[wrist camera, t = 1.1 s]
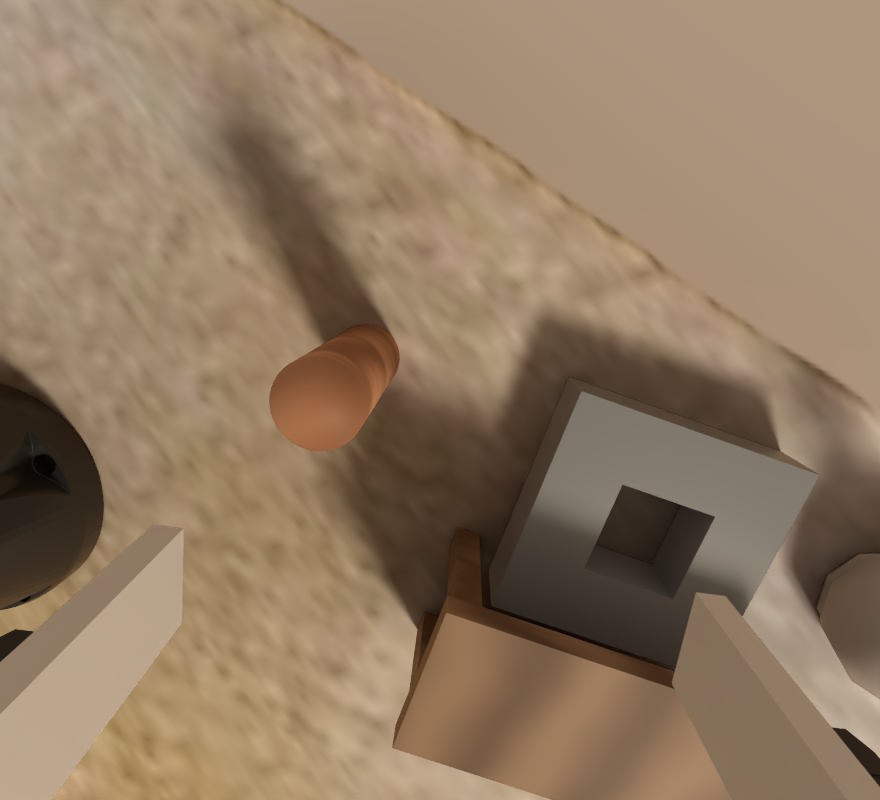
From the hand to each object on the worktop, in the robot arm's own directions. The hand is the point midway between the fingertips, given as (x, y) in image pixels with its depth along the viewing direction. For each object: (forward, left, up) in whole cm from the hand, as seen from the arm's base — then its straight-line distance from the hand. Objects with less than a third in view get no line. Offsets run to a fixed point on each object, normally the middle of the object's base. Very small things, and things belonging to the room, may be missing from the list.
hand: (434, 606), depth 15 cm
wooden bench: (+13, -12, -21) cm, 28 cm away
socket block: (+13, -3, -22) cm, 25 cm away
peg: (-6, +1, -22) cm, 22 cm away
